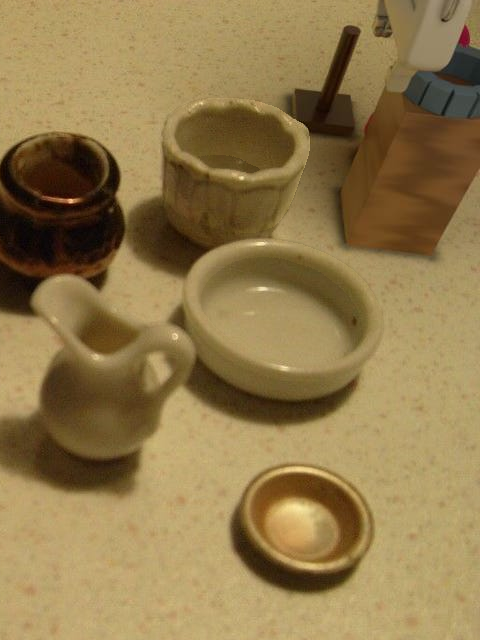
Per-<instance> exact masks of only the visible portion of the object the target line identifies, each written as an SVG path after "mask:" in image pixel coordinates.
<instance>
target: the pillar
mask: <svg viewBox="0 0 480 640" xmlns="http://www.w3.org/2000/svg"><path fill="white" fill-rule="evenodd" d="M396 61H397V60H395V61H394V62H393V64H392V66H394V64H395V62H396ZM433 74H434V75H436V76H437V77H438V78H439V79H442V80H444V81H447V82H450V83H452V84H455V85H463V86H471V87H472V86H473V85H472V84H470V83H469V82H468V81H466V80H463V79H461V78H458V77H456V76H453V75H448V74H439V73H433ZM373 112H374V113H373ZM373 112H372V114H373V115H372V114H371V115H372V118H371V120H370V123H369V125H368V127H367V130H366V132H365V135H364V134H363V137H362V140H361V141H360V144H359V147H358V149H357V152H356V154H355V156H354V159H353V161H352V164H351V166H350V169H349V171H348V173H347V176H346V178H345V181H344V183H343V185H342V188H341V190H340V200H341V209H342V218H343V219H342V221H343V228H344V229H343V230H344V238H345V245H348V246H354V247H355V246H356V247H362V248H370V249H376V250H377V249H378V250H386V251H392V252H401V253H407V254H414V255H415V254H416V255H422V256H423V255H424V256H432V254H433V253H434V250H435V249H436V247H437V245H438V244H439V242H440V240H441V238H442V236H443V234H444V233H445V231H446V230H447V227H448V226H449V224H450V223H451V220H452V219H453V217H454V215H455V213H456V211H457V210H458V208H459V206H460V204H461V202H462V200H463V199H464V197H465V195H466V194H467V192H468V190H469V188H470V186H471V185H472V184H473V181H474V180H475V178H476V176H477V174H478V172H479V171H480V117H477V118H473V119H469V118H468V117H466V119H460V118H452V117H444V114H443V112H442V113H441V114H440V115H437V114H435V113H432V112H430V111H427V110H425V109H422V108H420V104H418V105H415V104H414V103H413V102H412V101H410V100H409V99H408V98H407V97H406V96H405V95H404V94H403V92H401V93H398V92H389V91H387V89H386V85H385V84H384V87H383V90H382V91H381V94H380V96H379V99H378V101H377V103H376V105H375V108H374V111H373Z"/></svg>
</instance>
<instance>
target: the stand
mask: <svg viewBox="0 0 480 640" xmlns="http://www.w3.org/2000/svg"><path fill="white" fill-rule="evenodd" d="M361 33H362V30H361V28H360V27H358V26H356V25H352V24H350V25H345V26H344V27H343V28H342V31H341V34H340V37H339V38H338V39H339V40H338V42H337V45H336V48H335V50H334V54H333V57H332V59H331V62H330V65H329V68H328V71H327V74H326V77H325V79H324V82H323V85H322V88H321V91H319V90H311V89H310V90H309V89H303V88H302V89H301V88H294V90H293V93H292V97H291V109H292V119H293V118H294V119H296V120H297V121H299V122H301V123H303V124H304V125H305V126H306V127H307V128H308V130H309V132H308V133H316V134H323V135H324V134H325V135H332V136H341V137H348V138H349V137H350V138H351V137H352V135H353V133H354V130H355V129H356V126H355V117H354V110H353V103H352V95H351V94H345V93H339V92H340V89H341V87H342V84H343V82H344V79H345V76H346V74H347V70H348V67H349V65H350V62H351V60H352V57H353V54H354V52H355V49H356V47H357V44H358V42H359V38H360V35H361Z"/></svg>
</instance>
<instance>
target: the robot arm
mask: <svg viewBox="0 0 480 640" xmlns="http://www.w3.org/2000/svg"><path fill="white" fill-rule="evenodd" d="M473 2H474V0H377V5H376V13H375V15H374V18H373V21H372V24H371V30H372V33H373V36H374V37H375V38H384V39H388V38H390V37H391V36H392V37H393V41H394V44H395V48H396V52H397V54H396V58H397V59H396V60H395V61H396V62H395V61H394V62H395V64H394V63H393V65H394V66H393V65H389V67H388V68H387V72H386V75H385V77H384V86H385V85H386V89H387V91H389V92H398V93H401V92H404V91H405V90H406V89H407V87H408V84H409V82H410V80H411V78H412V76H413V75H414V74H415V73H416V72H417V71H418V70H419V71H440V70H442V69H443V68H444V67H445V66H446V65H447V64H448V63H449V62H450V60H451V58H452V55H453V53H454V51H455V48H456V46H457V43H458V41H459V38H460V36H461V33H462V30H463V28H464V25H466V22H467V20H468V18H469V17H468V16H469V14H470V11H471V8H472V6H473Z"/></svg>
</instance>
